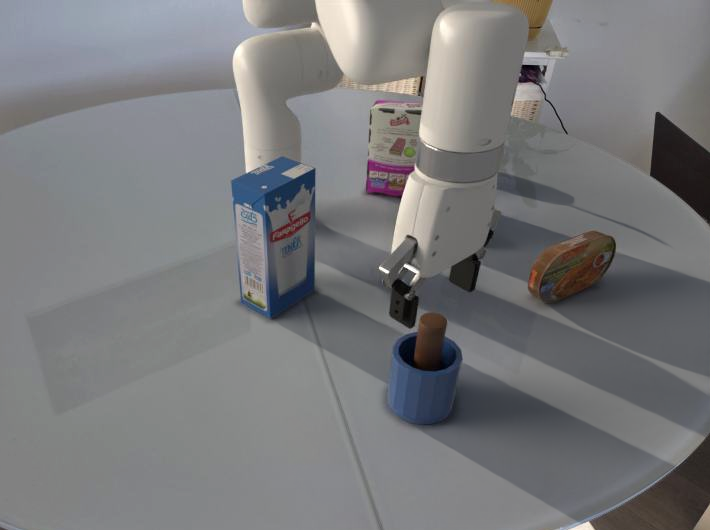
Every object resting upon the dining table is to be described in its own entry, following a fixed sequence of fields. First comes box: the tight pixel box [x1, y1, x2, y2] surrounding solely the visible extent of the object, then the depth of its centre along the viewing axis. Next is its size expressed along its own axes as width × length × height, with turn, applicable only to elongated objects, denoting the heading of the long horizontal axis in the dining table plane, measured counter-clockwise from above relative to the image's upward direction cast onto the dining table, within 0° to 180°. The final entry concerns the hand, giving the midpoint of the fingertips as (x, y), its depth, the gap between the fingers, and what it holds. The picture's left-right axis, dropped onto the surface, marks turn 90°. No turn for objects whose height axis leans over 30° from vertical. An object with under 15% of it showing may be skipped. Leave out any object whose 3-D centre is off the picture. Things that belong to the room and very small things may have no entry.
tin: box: [527, 230, 617, 304], centre depth 92 cm, size 15×3×8 cm, turn 118°
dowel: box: [413, 311, 448, 372], centre depth 74 cm, size 3×3×12 cm
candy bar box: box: [365, 99, 423, 198], centre depth 117 cm, size 11×5×16 cm, turn 68°
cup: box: [386, 331, 464, 425], centre depth 76 cm, size 8×8×8 cm
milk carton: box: [230, 157, 317, 320], centre depth 91 cm, size 10×6×20 cm, turn 134°
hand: (432, 303), depth 70 cm, fingers open, 9 cm apart
